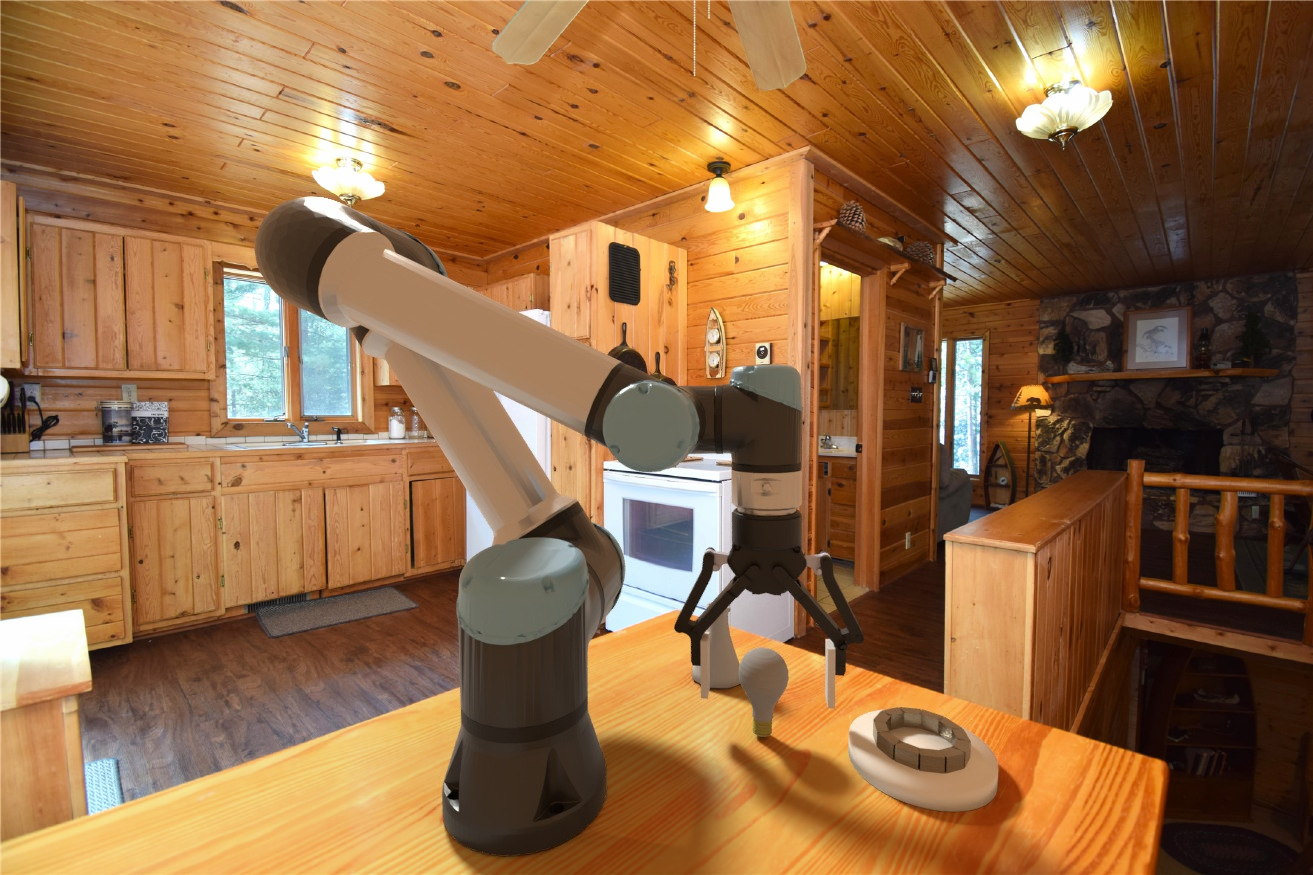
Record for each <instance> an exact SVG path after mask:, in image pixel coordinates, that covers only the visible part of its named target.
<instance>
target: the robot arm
mask: <svg viewBox="0 0 1313 875" xmlns="http://www.w3.org/2000/svg"><path fill="white" fill-rule="evenodd" d="M254 255H255V261H256V265H257V268H258V271H259V272H260V274H261V276H262V278H263V279H264V281H265V283H266V284H267V286H268V287H269V288H270V289H271V290H272V291H273V292H274V293H275V294H276V296H278V297H280V299H282V300H284V301H285V302H286V303H288V304H290V305H291V306H293V307H295V308H297V309H301V310H302V311H306V312H308V313H310V314H313V315H315V316H317V317H319V318H321V319H324V320H325V321H328V322H330V323H331V324H333V325H336V326H338V327H341V328H345V329H348V328H349V330H350V332H351V333H352V335H353V336H354V338H355V340H356V341H357V342H358V344H359V346H360V347H361V349H362V351H363V352H364V353H365V354H366V355H367V356H369V357H373V358H376V359H380V360H384V361H386V364H387V365H388V366H389V368H390V370H391V372H392V373H393V374H394V376H395V378H396V379H397V381H398V382H399V383H400V385H401V387H402V389H403V390H404V392H405V393H406V395H407V397H408V398H409V400H410V401H411V404H412V405H413V406H414V408H415V409H416V411H417V413H418V414H419V417H421V419H422V421H423V422H424V424H425V426H426V428H427V429H428V430H429V432H430V433H431V436H432V437H433V438H434V440H435V442H436V443H437V445H438V446H439V448H440V449H441V451H442V452H443V454H444V456H445V458H446V459H447V461H448V462H449V464H450V465H451V467H452V469H453V470H454V473H456V475H457V477H458V479H459V480H460V481H461V483H462V484H463V487H464V488H465V489H466V491H467V493H468V494H469V495H470V497H471V499H472V500H473V502H474V504H475V505H476V506H477V507H476V508H478V510H479V512H480V513H481V515H482V517H483V518H484V520H485V522H486V523H487V525H488V526H489V528H490V529H491V531H492V533H493V539H492V543H491V546H489V547H486V548H484V549H483V550H480V551H479V552H478V553H475V555H474V556H472V557H471V558H470V559H469V560H468V561H467V562H466V563H465V565H464V567H463V568H462V570H461V572H460V576H459V581H458V596H457V598H456V606H455V608H456V619H457V626H458V664H459V693H460V694H459V697H460V700H459V701H460V727H459V732H458V733H457V737H456V740H455V744H454V747H453V751H452V754H451V757H450V759H449V763H448V767H447V770H446V773H445V776H444V779H443V782H442V790H441V799H442V801H441V806H442V809H441V810H442V819H443V824H444V826H445V828H446V831H447V832H448V834H450V836H451V837H452V838H455V839H454V840H455V841H457V843H459V844H461V845H462V846H464V847H466V848H469V849H470V850H472V851H476V852H477V853H478V852H479V853H483V854H487V855H493V856H494V855H495V856H521V855H523V856H524V855H528V854H533V853H534V854H535V853H537V852H542V851H545V850H548V849H550V848H554V847H556V846H559V845H561V844H563V843H565V842H567V841H569V840H570V839H572V838H574V837H576V836H578V835H579V834H580V833H581V832H583V830H585V829H586V828H587V827H588V826H589V825H591V823H592V822H593V821H594V820H595V819H596V818H597V817H598V815H599V814H600V812H601V810H602V809H603V806H604V804H605V801H606V797H607V790H608V788H607V787H608V786H607V784H608V783H607V782H608V778H607V774H608V773H607V763H606V759H605V755H604V752H603V749H602V746H601V744H600V741H599V738H598V736H597V733H596V732H597V731H596V730H595V727H594V724H593V721H592V718H591V716H590V713H589V699H588V698H589V694H588V693H589V690H588V688H589V687H588V686H589V685H588V684H589V675H588V674H589V671H588V670H589V668H588V666H589V665H588V664H589V663H588V662H589V660H588V658H589V657H588V655H589V654H588V652H589V645H590V642H591V640H592V639H593V637H594V636H595V634H596V632H597V631H598V630H599V628H600V627H601V625H602V623H603V622H604V621H605V619H606V618H607V616H608V615H609V614H610V612H612V610H613V609H614V608H615V606H616V605H617V603H618V601H619V599H620V597H621V593H622V590H623V587H624V583H625V579H626V560H625V556H624V553H623V549H622V548H621V545H620V543H619V542H618V540H617V539H616V537H615V536H614V535H613V534H612V533H611V531H609V530H608V529H606V528H605V527H604V526H602V525H600V524H599V523H595V522H592V520H591V519H590V517H589V516H588V515H587V513H586V511H585V510H584V508H583V506H582V505H581V503H580V501H579V500H578V499H577V498H576V497H571V496H567V495H562V494H560V493H559V492H558V491H557V489H556V488H555V486H554V485H553V483H552V481H551V479H550V478H549V477H548V474H546V472H545V471H544V468H543V467H542V466H541V463H540V462H539V461H538V460H537V457H536V456H535V454H534V453H533V452H532V450H531V448H530V447H529V445H528V444H527V442H526V440H525V438H524V437H523V435H522V434H521V432H520V431H519V429H518V427H517V426H516V424H515V423H514V421H513V419H512V418H511V416H510V415H509V413H508V412H507V410H506V408H505V407H504V405H503V403H502V402H501V400H500V399H499V397H498V396H497V394H500V395H501V396H504V397H505V398H508V399H509V400H512V401H514V402H515V403H517V404H520V405H521V406H523V407H526V408H527V409H530V410H532V411H534V412H536V413H538V414H540V415H542V416H544V417H546V418H548V419H550V420H552V421H554V422H556V423H558V424H560V425H562V426H564V427H566V428H568V429H569V430H572V431H574V432H576V433H578V434H580V435H582V436H584V437H585V438H588V439H590V440H592V441H593V442H595V443H596V444H598V445H600V446H602V447H605V448H607V449H608V450H609V453H610V454H611V455H612V456H613V458H614V459H616V460H617V461H618V462H619V463H620V464H621V465H623V466H624V467H626V468H627V469H630V470H633V471H635V472H639V473H657V472H662V471H665V470H669V469H672V468H674V467H676V466H678V465H680V464H681V463H682V462H684V461H685V460H686V459H687V457H688V456H689V455H702V454H703V455H707V454H709V455H710V454H711V455H713V454H716V455H724V454H730V457H731V469H730V472H731V504H732V505H733V506H734V507H735V508H734V509H733V511H731V549H730V550H729V552H723V551H717V550H716V549H715V548H714V547H711V546H710V547H707V548H706V549H705V551H704V554H703V557H702V563H701V571H700V573H699V575H698V577H697V578H696V580H695V583H694V584H693V586H692V588H691V591H690V593H689V594H688V596H687V598H686V600H685V602H684V604H683V607H682V608H681V609H680V611H679V614H678V616H677V618H676V620H675V622H674V627H673V628H674V631H675V632H676V633H678V634H681V633H682V634H685V635H686V636H688V637H689V640H690V662H691V664H692V667H693V666H701V684H700V699H705V700H707V699H708V698H709V694H710V689H711V688H710V638H709V632H706V631H707V629H708V628H709V627H710V626H711V625H712V624H713V623H714V622H715V621H716V619H717V618H718V617H719V616H720V615H721V614H722V613H723V612H724V611H725V610H726V608H727V607H728V606H729V605H731V604H732V603H733V602H734V601H735V600H736V599H738V598H739V596H740V595H741V594H742V593H743V592H744V591H745V590H746V591H748V592H749V593H751V595H758V596H759V595H763V594H769V595H772V596H782V594H785V593H787V592H788V593H789V594H790V595H791V596H792V597H793V599H794V600H795V601H797V602H798V603H799V604H800V606H801V607H802V608H803V609H804V611H806V613H807V614H808V615H809V616H810V617H811V618H812V620H813V621H814V622H815V623H816V625H817V626H818V627H819V628H820V629H821V630H822V631H823V632H824V634H825V635H826V636H827V637H828V638H825V639H824V640H825V646H824V647H825V648H824V649H825V653H824V654H825V657H824V658H825V659H824V661H825V662H824V663H825V664H824V665H825V672H824V680H825V682H824V684H825V685H824V690H825V692H824V694H825V695H824V696H825V701H826V707H827V709H830V710H831V709H834V710H835V709H836V676H841V677H844V676H845V675H846V671H847V667H846V666H847V649H848V647H849V646H851V645H852V644H862V643H863V642H864V641H865V636H864V633H863V630H862V628H861V626H860V624H859V622H858V620H857V618H856V616H855V614H854V612H853V610H852V608H851V606H850V604H849V603H848V601H847V598H846V596H845V595H844V593H843V591H842V589H841V587H840V585H839V583H838V581H837V579H836V577H835V573H834V566H833V560H832V558H831V555H830V553H829V552H828V551H826V550H821V551H820V552H819V553H818V554H808V555H807V554H806V555H805V554H804V552H803V546H802V544H803V542H802V540H803V538H802V536H803V535H802V534H803V533H802V532H803V527H802V526H803V514H802V513H801V512H800V510H798V508H799V507H800V506H802V504H803V483H802V482H803V481H802V480H803V479H802V478H803V474H802V473H803V472H802V470H803V468H802V466H803V463H802V462H803V461H802V458H803V410H804V407H803V397H802V376H801V373H800V372H799V371H798V370H797V368H795V367H794V366H792V365H785V364H760V365H758V364H757V365H742V366H741V365H740V366H735V367H734V368H733V369H732V370H731V372H730V373H731V374H730V379H729V381H728V382H729V383H726V384H725V383H723V384H720V385H717V384H715V385H673V384H670V383H667V382H665V381H663V380H661V379H659V378H657V377H654V376H652V375H650V374H648V373H646V372H644V371H642V370H640V369H638V368H636V367H633V366H631V365H629V364H626V363H625V362H622V361H621V360H618V359H617V358H614V357H613V356H611V355H609V354H606V353H605V352H602V351H600V350H598V349H597V348H594V347H593V346H590V345H589V344H586V343H584V342H581V341H580V340H577V339H575V338H573V337H571V336H569V335H567V334H565V333H563V332H561V331H559V330H557V329H554V328H553V327H550V326H549V325H546V324H544V323H542V322H541V321H538V320H536V319H534V318H532V317H530V316H527V315H526V314H523V313H521V312H520V311H517V310H515V309H513V308H512V307H509V306H507V305H505V304H503V303H500V302H498V301H496V300H495V299H492V298H490V297H488V296H486V295H484V294H482V293H480V292H478V291H476V290H473V289H472V288H470V287H468V286H465V285H464V284H461V283H459V282H457V281H455V280H453V279H451V278H449V276H448V272H447V270H446V268H445V266H444V264H443V263H442V261H441V259H440V258H439V256H438V255H437V254H436V253H435V252H434V251H433V250H432V249H431V248H430V247H428V246H427V245H426V244H425V243H423V242H422V241H421V240H420V239H419V238H417V237H415V236H413V235H412V234H410V233H408V232H407V231H403V230H401V229H398V228H394V227H391V226H389V225H387V224H385V223H383V222H381V221H379V220H377V219H375V218H373V217H371V216H369V215H366V214H365V213H362V212H360V211H359V210H356V209H354V208H352V207H350V206H349V205H346V204H344V203H341V202H338V201H335V200H332V199H330V198H329V199H328V198H326V197H325V198H324V197H318V196H304V197H297V198H294V199H293V198H292V199H290V200H286V201H285V202H281V203H280V204H279V205H277V206H275V207H274V208H273V209H272V210H270V211H269V212H268V213H267V214H266V216H264V217H263V219H262V220H261V222H260V225H259V226H258V228H257V232H256V235H255V238H254ZM496 393H497V394H496ZM725 564H727V566H728V568H730V570H731V571H732V573H733V575H734V576H733V577H732V579H730V580H729V583H728V584H727V585H726V586H725V587H724V588H723V590H721V591H720V593H719V594H717V596H716V597H715V598H714V599H713V600H712V601H711V602H712V603H711V602H710V603H711V604H710V605H709V606H708V607H707V606H706V609H705V610H704V611H703V612H701V614H700V615H699V616H698V617H697V619H696V620H695V619H694V620H693V619H691V618H692V617H693V614H694V612H695V610H696V608H697V606H698V605H699V603H700V601H701V599H702V597H703V594H704V593H705V591H706V589H707V586H708V585H709V584H710V583H709V582H710V581H711V579H712V576H713V572H719V571H720V570H721V568H722V566H723V565H725ZM807 567H809V568H811V570H812V571H813V574H814V575H815V576H821V577H822V580H823V584H824V586H825V588H826V590H827V591H828V593H829V595H830V598H831V600H832V601H833V603H834V605H835V607H836V609H837V611H838V614H839V615H840V617H841V619H842V621H843V623H844V625H845V627H844V628H841V627H840V626H839V625H838V624H837V623H836V621H835V620H834V619H833V618H832V617H831V616H830V614H828V612H827V611H826V610H825V609H824V607H823V606H822V605H821V604H820V603H819V602H818V600H817V599H816V598H815V597H814V595H813V594H811V592H810V591H809V590H808V589H807V588H806V586H805V584H804V583H803V582H802V581H801V579H799V578H800V577H801V575H802V574H803V572H804V571H805V570H806V568H807Z"/></svg>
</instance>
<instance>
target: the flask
mask: <svg viewBox="0 0 1313 875" xmlns="http://www.w3.org/2000/svg"><path fill="white" fill-rule="evenodd" d="M712 602H713V601H711V602H707V603H706V608H707V607H708V606H709V605H710V604H711V603H712ZM730 605H731V604H730ZM730 605H729V606H728V607H727V608H726V610H725V611H724V612H723V613H722V614H721V615H720V616H719V617H718V618H717V619H716V621H715V622H714V623H713V624H712V625H711V626H710V627H709V628H708V629H707V631H706V632H709V638H710V689H730V688H731V689H732V688H733V687H736V686H739V685H741V683H740V679H739V665H740V661H739V658H738V655H737V653H736V649H735V646H734V642H733V640H732V636H731V632H730V626H729V625H730V624H729V613H730V612H731V606H730ZM691 674H692V675H691V676H692V680H693V681H694V682H696V683H698V684H700V685H701V666H693V665H692V668H691Z"/></svg>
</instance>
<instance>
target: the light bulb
mask: <svg viewBox="0 0 1313 875" xmlns="http://www.w3.org/2000/svg"><path fill="white" fill-rule="evenodd" d="M739 664H740V665H739V679H740V683H741V684H740V685H741V687H742V689H743V691H744V693H745V695H746V697H747V698H748V700H749V702H750V704H751V708H752V713H751V714H752V732H753V734H754V735H756V736H757V737H759V738H762V739H763V738H767V737H769V736H771V734H772V733H773V720H774V709H775V706H776V704H777V703H778V701H779V700H780V699H781V697H782V696H783V695H784V693H785V691H786V689H787V688H788V683H789V669H788V665H787V663H786V661H785V659H784V657H782V655H781V654H780V653H779V652H777V651H776V650H775V649H772V648H769V647H754V648H752V649H750V650H749V651H747V652H746V653H745V654H744V655H743V657H742V658H741V661H739Z"/></svg>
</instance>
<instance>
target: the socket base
mask: <svg viewBox="0 0 1313 875" xmlns="http://www.w3.org/2000/svg"><path fill="white" fill-rule="evenodd" d="M882 710H883V709H877V710H873V711H869V712H866V713H864V714H861V715H860V716H858V717H857V718H855V719H854V720H853V721H852V723H851V724H850V725H849V728H848V729H849V730H848V744H847V745H848V746H847V747H848V749H847V751H848V757H849V761H850V763H851V765H852V767H853V768H854V769H855V771H856V772H857V773H858V774H859V775H860V776H861V777H862V778H863V780H865V781H866V782H867V783H868V784H870V785H871V786H873V787H874V788H875V789H877V790H879V791H880V792H882V793H884V794H886V795H887V796H889V797H892V798H893V799H896V800H898V801H900V802H903V803H906V804H909V805H912V806H915V807H918V808H922V809H927V810H933V811H937V812H938V811H940V812H952V813H953V812H957V813H958V812H967V811H972V810H973V811H974V810H978V809H979V808H983V807H985V806H986V805H988V804H989V803H991V801H993V799H994V798H995V796H996V795H997V793H998V785H999V784H998V782H999V761H998V759H997V756H996V754H995V753H994V751H993V750H992V748H991V747H990V746H989V745H988V744H987V743H986V742H985V741H984V740H983V739H981V738H980V737H979V736H977V735H976V734H974V733H973V732H972V731H970V730H969V729H967V728H966V727H963V726H961V725H959V726H960V727H962V729H964V731H965V732H966V734H967V736H968V737H969V739H970V741H971V754H970V759H969V761H968V763H967V765H966V767H965V768H964V769H962V770H958V771H954V772H951V773H947V774H946V773H945V774H942V773H933V772H924V771H920V770H915V769H913V768H910V767H908V766H905V765H903V764H900V763H898V762H895V760H892V759H891V758H889V757H888V756H887V755H886V754H885V753H883V752H882V751H881V750H880V749H878V747H877V746H876V743H875V740H874V737H873V719H874V718H875V717H876V716H877V715H878V714H879V712H880V711H882ZM884 710H886V709H884ZM890 733H891V734H893V735H894V736H895V737H897V738H898V739H899V740H901V741H902V742H905V743H908V744H910V745H913V746H916V747H918V748H924V749H934V750H941V749H945V748H949V747H952V744H951V743H949V742H948V741H946V740H945V739H943V738H942V737H941V736H939V735H937V734H935V733H932V732H929V731H926V730H923V729H919V728H909V727H902V728H897V729H893V730H890Z"/></svg>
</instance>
